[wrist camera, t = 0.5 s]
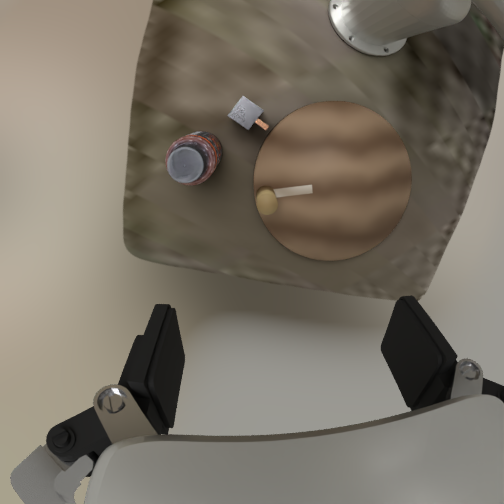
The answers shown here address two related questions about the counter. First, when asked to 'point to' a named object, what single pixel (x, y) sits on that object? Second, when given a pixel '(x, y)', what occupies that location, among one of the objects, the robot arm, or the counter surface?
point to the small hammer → (247, 114)
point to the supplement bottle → (193, 158)
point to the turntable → (332, 180)
